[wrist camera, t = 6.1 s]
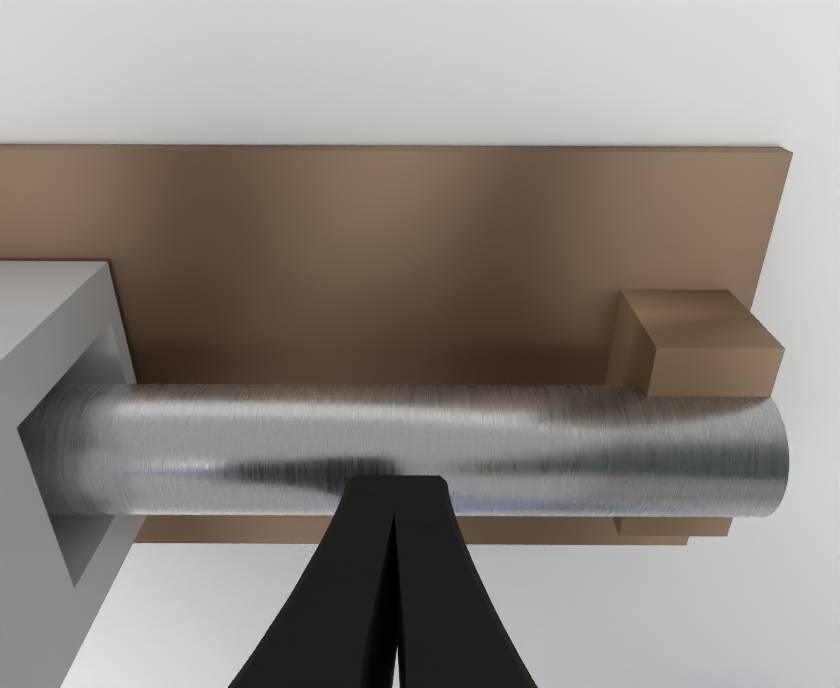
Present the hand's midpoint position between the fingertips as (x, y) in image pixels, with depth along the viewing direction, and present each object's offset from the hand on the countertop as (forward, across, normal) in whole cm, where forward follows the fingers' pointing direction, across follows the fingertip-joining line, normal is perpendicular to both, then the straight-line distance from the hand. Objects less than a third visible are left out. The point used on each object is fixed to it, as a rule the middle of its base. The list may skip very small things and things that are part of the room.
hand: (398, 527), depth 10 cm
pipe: (+3, +5, 0) cm, 5 cm away
